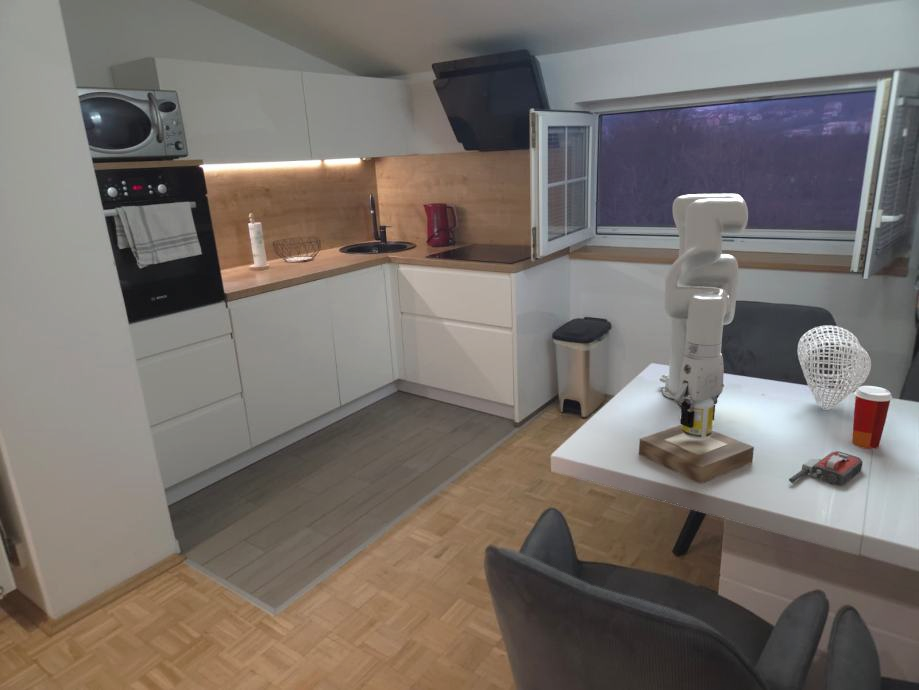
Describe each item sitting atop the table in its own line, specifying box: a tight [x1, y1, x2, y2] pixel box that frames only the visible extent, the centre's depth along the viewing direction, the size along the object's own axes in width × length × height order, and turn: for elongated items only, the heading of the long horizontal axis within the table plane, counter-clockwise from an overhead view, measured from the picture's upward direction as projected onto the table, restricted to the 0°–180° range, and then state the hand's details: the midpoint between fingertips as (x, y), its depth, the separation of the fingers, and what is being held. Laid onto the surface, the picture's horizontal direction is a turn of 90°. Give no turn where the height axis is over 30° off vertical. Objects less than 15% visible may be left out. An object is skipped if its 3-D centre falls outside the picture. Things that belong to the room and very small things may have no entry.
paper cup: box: [851, 385, 893, 450], centre depth 153 cm, size 8×8×14 cm
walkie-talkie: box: [788, 450, 864, 487], centre depth 140 cm, size 9×4×20 cm
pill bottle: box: [682, 396, 715, 439], centre depth 147 cm, size 6×6×12 cm
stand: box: [638, 424, 755, 484], centre depth 150 cm, size 18×18×4 cm
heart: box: [797, 324, 872, 411], centre depth 173 cm, size 28×16×22 cm, turn 158°
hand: (697, 421), depth 148 cm, fingers closed on pill bottle, 6 cm apart
